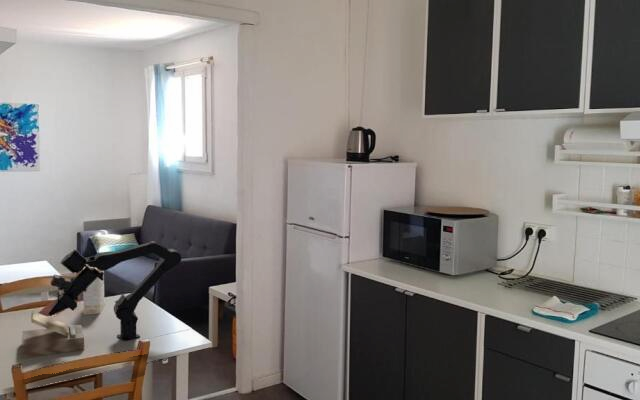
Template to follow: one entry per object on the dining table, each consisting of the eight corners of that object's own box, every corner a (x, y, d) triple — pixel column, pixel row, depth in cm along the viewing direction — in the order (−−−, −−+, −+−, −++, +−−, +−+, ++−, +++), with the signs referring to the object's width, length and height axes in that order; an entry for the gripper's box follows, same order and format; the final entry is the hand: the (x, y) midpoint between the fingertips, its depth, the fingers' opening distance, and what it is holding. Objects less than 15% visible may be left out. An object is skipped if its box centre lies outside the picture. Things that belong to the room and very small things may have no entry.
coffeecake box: (88, 304, 254) (87, 261, 252) (105, 303, 256) (104, 261, 254) (82, 314, 240) (81, 269, 238) (100, 313, 242) (99, 268, 240)
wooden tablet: (55, 300, 261) (55, 297, 261) (78, 300, 262) (78, 297, 262) (30, 318, 235) (30, 314, 235) (55, 318, 236) (55, 314, 235)
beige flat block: (81, 336, 214) (81, 322, 213) (84, 349, 200) (83, 334, 200) (22, 343, 205) (22, 328, 204) (21, 357, 192) (21, 342, 191)
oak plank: (66, 327, 209) (67, 324, 209) (67, 336, 200) (69, 333, 200) (31, 314, 203) (33, 311, 203) (31, 322, 194) (33, 319, 194)
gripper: (63, 261, 210) (31, 293, 206) (66, 272, 193) (30, 307, 190) (87, 280, 214) (55, 312, 210) (91, 293, 198) (56, 327, 194)
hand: (49, 314), depth 201 cm, fingers closed
